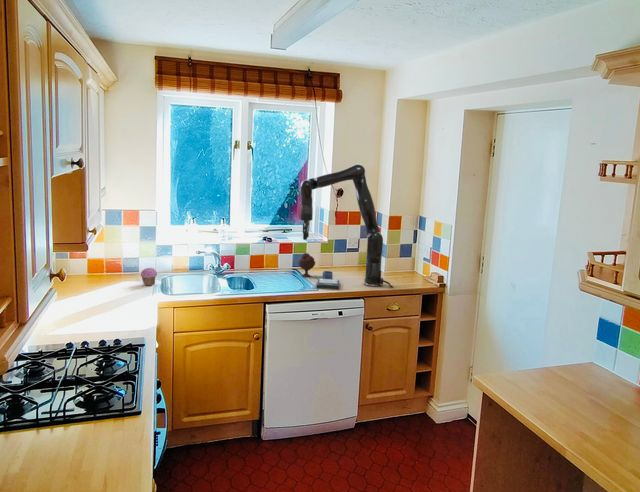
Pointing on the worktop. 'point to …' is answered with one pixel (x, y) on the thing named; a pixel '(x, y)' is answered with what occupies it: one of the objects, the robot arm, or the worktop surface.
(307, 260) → the miniature tree
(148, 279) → the cupcake
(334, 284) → the scale
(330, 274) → the dip bowl
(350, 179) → the robot arm
